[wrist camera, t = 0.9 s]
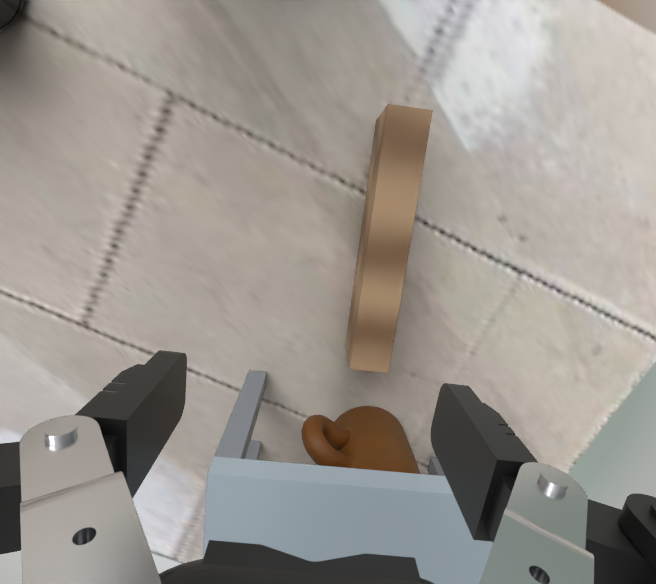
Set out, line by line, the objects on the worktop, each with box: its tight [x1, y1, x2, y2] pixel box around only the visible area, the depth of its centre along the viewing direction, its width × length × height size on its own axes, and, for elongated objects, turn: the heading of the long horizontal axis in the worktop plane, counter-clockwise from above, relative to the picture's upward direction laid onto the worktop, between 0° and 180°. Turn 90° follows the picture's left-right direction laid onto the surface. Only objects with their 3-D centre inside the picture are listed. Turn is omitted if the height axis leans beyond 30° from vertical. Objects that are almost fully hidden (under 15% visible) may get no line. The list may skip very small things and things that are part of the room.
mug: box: [302, 406, 420, 474], centre depth 32 cm, size 12×8×9 cm, turn 42°
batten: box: [346, 104, 433, 373], centre depth 30 cm, size 19×3×6 cm, turn 173°
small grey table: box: [203, 370, 493, 584], centre depth 30 cm, size 9×20×14 cm, turn 83°
